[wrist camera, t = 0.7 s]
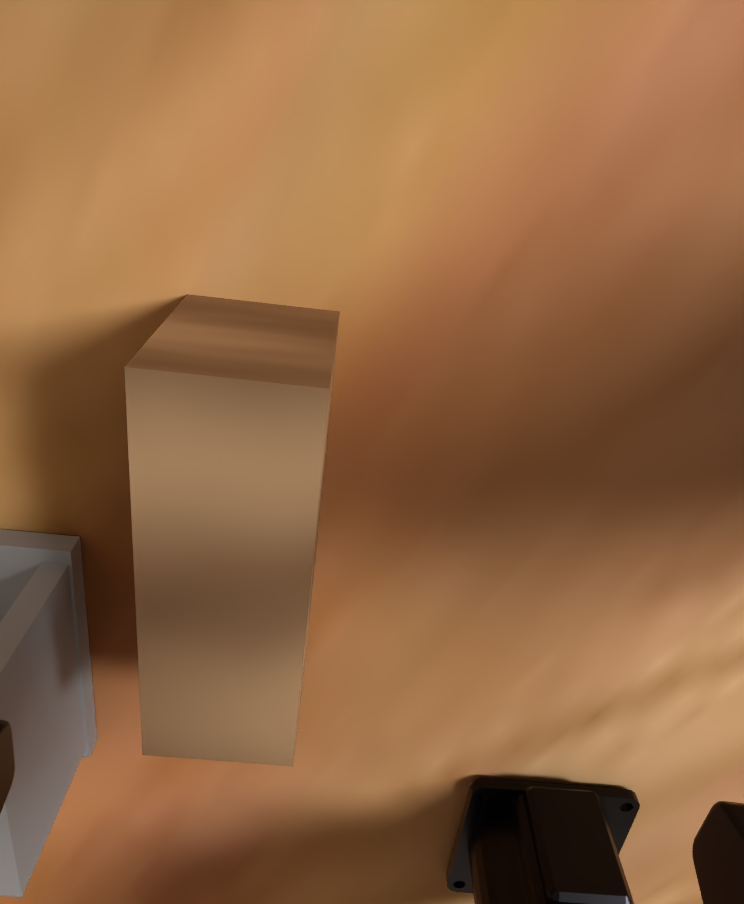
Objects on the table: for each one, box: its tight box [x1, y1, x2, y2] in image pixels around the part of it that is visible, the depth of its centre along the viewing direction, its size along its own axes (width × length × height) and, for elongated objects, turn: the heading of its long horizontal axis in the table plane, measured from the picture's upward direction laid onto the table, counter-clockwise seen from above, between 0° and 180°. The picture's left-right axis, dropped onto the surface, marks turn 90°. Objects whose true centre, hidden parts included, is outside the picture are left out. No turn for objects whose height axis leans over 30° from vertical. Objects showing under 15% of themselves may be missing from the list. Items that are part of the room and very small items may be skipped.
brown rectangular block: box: [124, 295, 340, 766], centre depth 19 cm, size 11×4×6 cm, turn 173°
